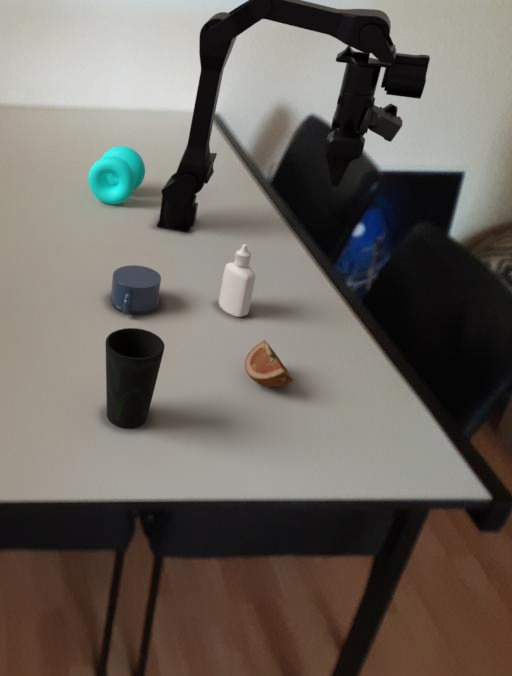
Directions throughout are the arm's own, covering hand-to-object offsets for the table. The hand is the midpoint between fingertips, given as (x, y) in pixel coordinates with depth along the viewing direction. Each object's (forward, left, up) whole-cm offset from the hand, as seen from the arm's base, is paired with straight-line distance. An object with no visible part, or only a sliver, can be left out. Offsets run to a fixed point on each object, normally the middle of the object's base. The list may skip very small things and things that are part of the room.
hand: (336, 177), depth 155 cm
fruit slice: (-3, -50, -15) cm, 52 cm away
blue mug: (-28, -34, -15) cm, 47 cm away
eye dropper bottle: (-12, -30, -15) cm, 35 cm away
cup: (-20, -66, -15) cm, 71 cm away
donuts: (-43, +8, -15) cm, 46 cm away
